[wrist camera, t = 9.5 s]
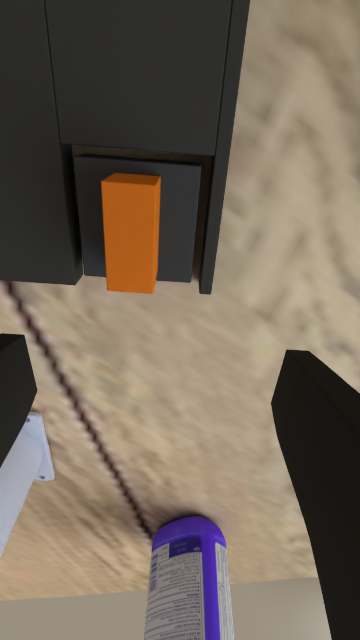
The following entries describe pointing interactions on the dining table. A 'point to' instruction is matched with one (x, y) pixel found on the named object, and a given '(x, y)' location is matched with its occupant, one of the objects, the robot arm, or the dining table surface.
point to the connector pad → (172, 211)
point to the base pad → (107, 111)
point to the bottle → (189, 583)
